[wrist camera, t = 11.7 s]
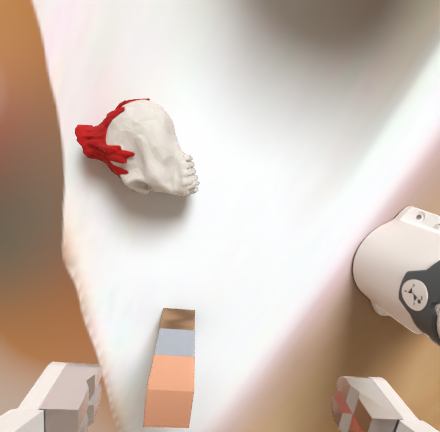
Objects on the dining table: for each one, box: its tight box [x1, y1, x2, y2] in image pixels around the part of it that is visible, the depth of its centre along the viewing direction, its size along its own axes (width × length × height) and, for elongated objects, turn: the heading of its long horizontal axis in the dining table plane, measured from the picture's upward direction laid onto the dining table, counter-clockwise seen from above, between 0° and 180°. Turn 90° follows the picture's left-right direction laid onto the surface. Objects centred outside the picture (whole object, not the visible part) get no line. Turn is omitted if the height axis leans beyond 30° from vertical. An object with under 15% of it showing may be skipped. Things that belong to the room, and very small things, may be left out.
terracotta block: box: [143, 354, 195, 428], centre depth 31 cm, size 5×5×5 cm
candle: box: [75, 99, 199, 196], centre depth 33 cm, size 9×11×15 cm
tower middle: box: [154, 328, 195, 357], centre depth 36 cm, size 5×5×5 cm
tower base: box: [159, 308, 195, 331], centre depth 41 cm, size 5×5×5 cm
